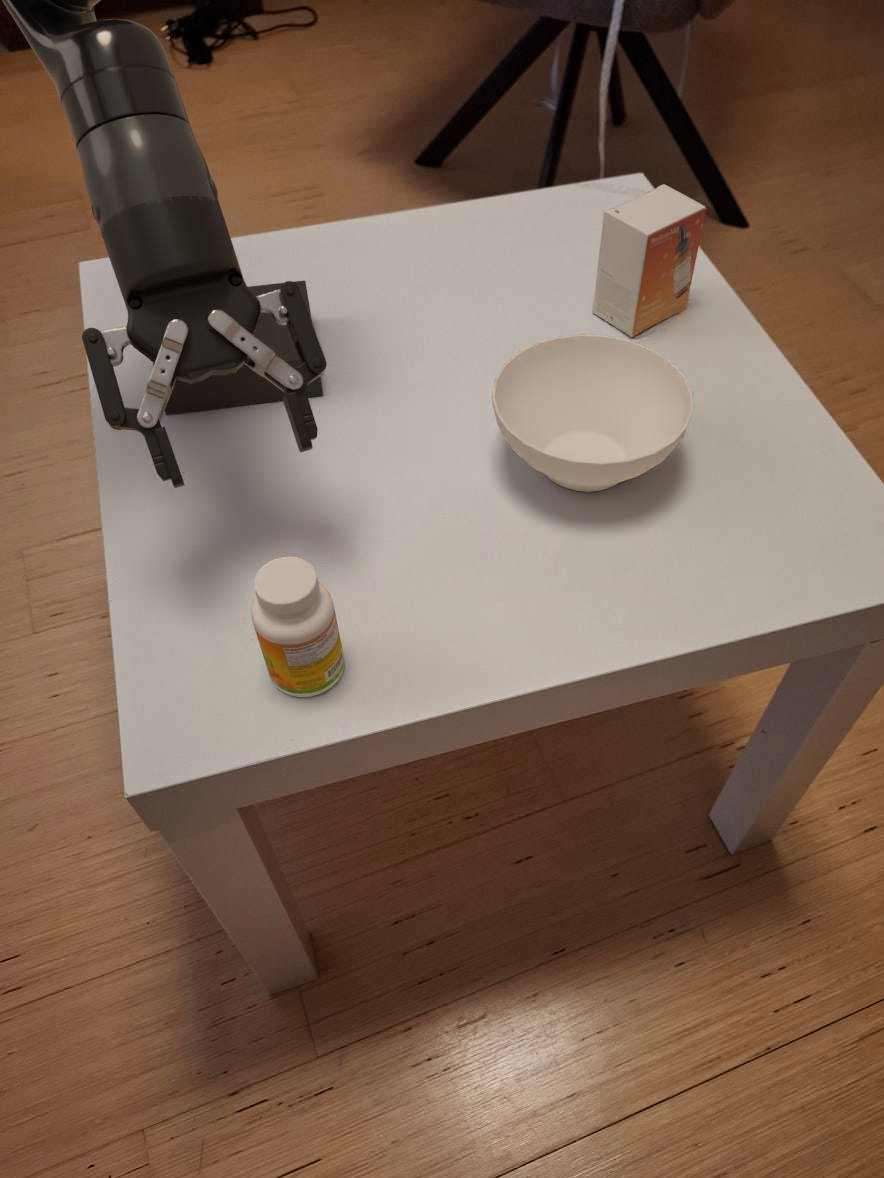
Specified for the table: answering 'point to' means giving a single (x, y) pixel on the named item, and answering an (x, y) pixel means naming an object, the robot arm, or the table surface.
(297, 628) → the supplement bottle
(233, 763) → the table surface
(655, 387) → the bowl
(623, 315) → the small box
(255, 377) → the red push button box
